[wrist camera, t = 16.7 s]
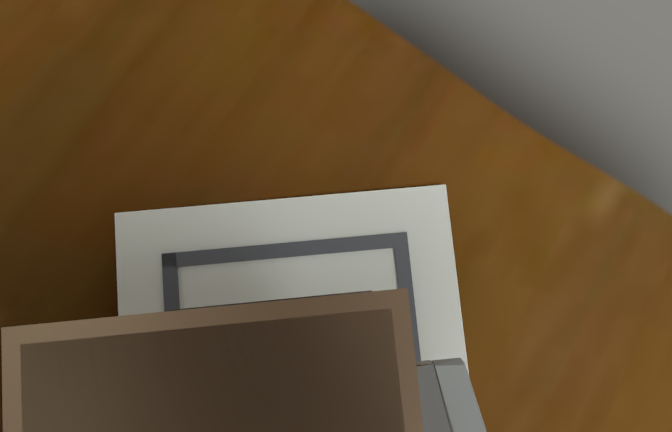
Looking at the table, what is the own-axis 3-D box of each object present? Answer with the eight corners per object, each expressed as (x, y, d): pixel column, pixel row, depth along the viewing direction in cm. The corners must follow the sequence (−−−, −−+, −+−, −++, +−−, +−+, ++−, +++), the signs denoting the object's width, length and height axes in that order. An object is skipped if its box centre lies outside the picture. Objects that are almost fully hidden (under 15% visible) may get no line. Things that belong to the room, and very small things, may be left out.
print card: (132, 565, 24) (126, 574, 23) (118, 215, 26) (113, 212, 26) (484, 528, 25) (489, 534, 24) (442, 187, 27) (446, 183, 26)
